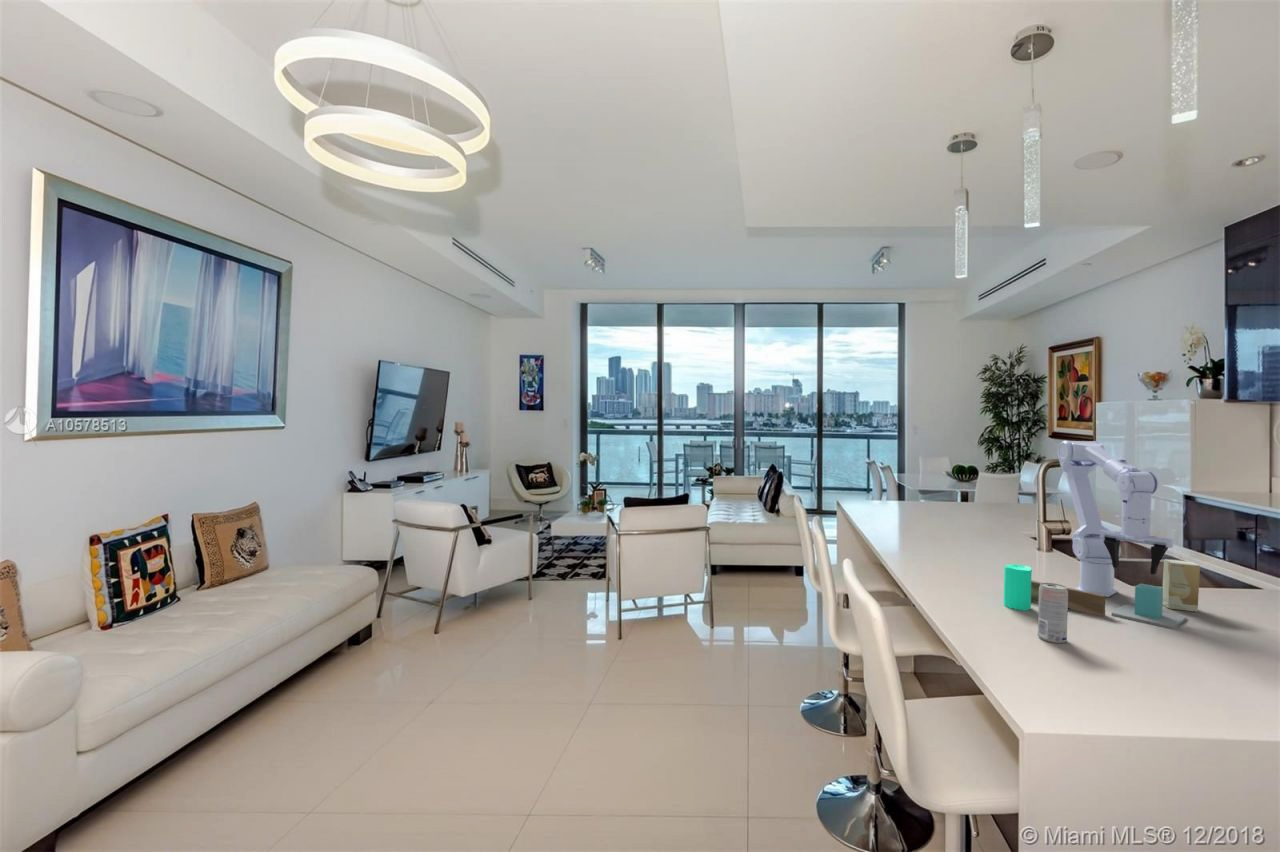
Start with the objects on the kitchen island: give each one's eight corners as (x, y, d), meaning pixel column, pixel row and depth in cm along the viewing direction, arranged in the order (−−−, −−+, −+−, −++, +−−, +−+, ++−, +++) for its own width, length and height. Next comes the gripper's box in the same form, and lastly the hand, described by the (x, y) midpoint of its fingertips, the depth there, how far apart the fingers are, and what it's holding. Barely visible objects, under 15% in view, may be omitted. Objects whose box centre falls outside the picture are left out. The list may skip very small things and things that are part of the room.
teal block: (1139, 610, 151) (1139, 583, 151) (1162, 615, 147) (1163, 587, 147) (1134, 614, 148) (1135, 586, 148) (1157, 619, 145) (1158, 590, 144)
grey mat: (1125, 606, 156) (1125, 604, 156) (1186, 619, 147) (1186, 616, 147) (1111, 615, 149) (1111, 612, 149) (1174, 629, 139) (1174, 626, 139)
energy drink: (1062, 636, 134) (1063, 583, 134) (1070, 645, 129) (1071, 590, 129) (1034, 633, 136) (1035, 581, 136) (1041, 641, 131) (1043, 587, 131)
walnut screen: (1016, 595, 165) (1017, 577, 165) (1105, 615, 149) (1105, 595, 149) (1014, 596, 164) (1014, 578, 164) (1103, 616, 148) (1103, 596, 148)
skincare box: (1168, 609, 154) (1169, 562, 154) (1160, 604, 158) (1162, 558, 158) (1199, 612, 152) (1201, 565, 152) (1191, 607, 156) (1192, 561, 156)
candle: (1022, 603, 158) (1023, 558, 158) (1035, 610, 152) (1036, 564, 152) (999, 602, 158) (1000, 557, 158) (1010, 609, 152) (1011, 563, 152)
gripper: (1096, 515, 156) (1095, 566, 157) (1169, 524, 145) (1167, 579, 145) (1105, 512, 160) (1103, 562, 161) (1176, 521, 149) (1174, 574, 149)
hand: (1134, 570), depth 153 cm, fingers open, 7 cm apart
